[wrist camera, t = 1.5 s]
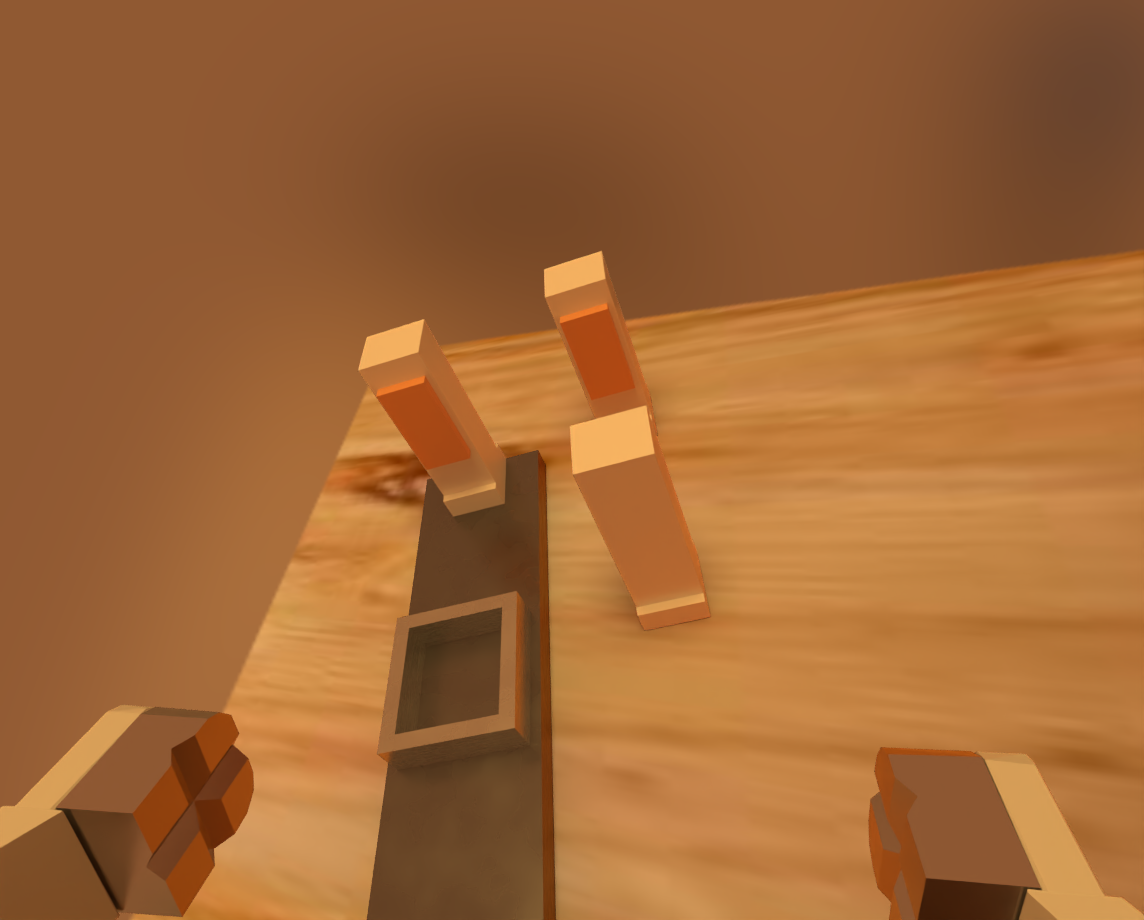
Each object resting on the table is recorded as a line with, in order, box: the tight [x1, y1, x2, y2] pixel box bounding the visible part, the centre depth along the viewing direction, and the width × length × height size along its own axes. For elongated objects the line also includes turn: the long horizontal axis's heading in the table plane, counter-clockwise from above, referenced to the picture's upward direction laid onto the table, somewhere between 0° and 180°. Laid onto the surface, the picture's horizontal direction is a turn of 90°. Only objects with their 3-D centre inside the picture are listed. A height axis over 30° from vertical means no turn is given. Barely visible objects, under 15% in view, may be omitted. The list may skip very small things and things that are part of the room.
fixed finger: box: [358, 319, 506, 517], centre depth 43 cm, size 4×4×12 cm
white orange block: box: [544, 251, 658, 436], centre depth 45 cm, size 4×4×12 cm
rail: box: [367, 450, 556, 920], centre depth 38 cm, size 8×30×4 cm, turn 3°
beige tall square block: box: [570, 406, 710, 631], centre depth 35 cm, size 4×4×12 cm
